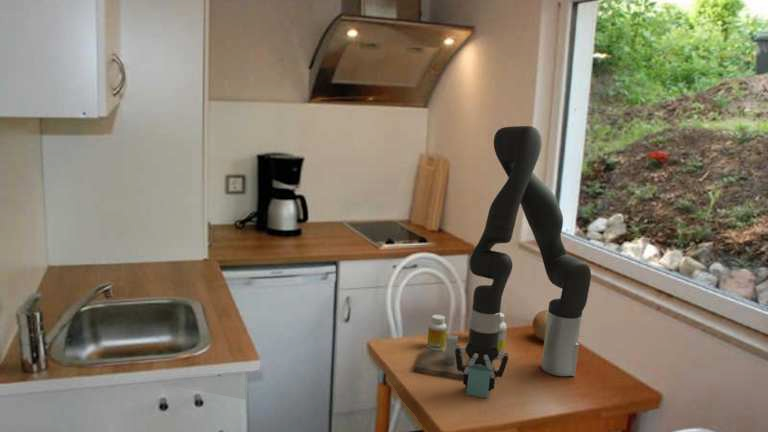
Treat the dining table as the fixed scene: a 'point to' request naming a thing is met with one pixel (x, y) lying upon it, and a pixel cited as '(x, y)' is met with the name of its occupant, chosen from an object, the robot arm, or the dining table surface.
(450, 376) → the post board
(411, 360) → the dining table surface
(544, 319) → the onion
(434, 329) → the supplement bottle
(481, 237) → the robot arm
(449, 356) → the post
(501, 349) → the supplement bottle
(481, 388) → the aqua rectangular box
